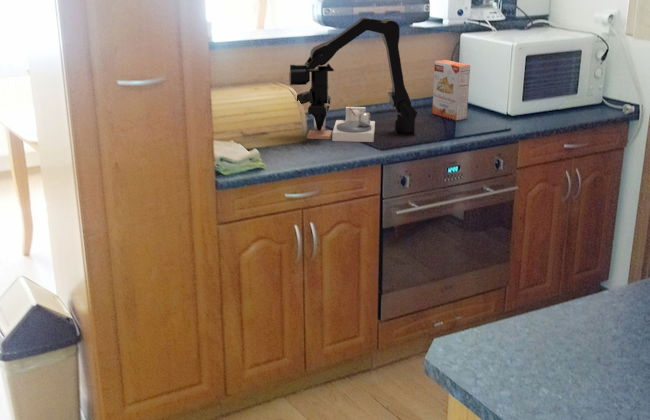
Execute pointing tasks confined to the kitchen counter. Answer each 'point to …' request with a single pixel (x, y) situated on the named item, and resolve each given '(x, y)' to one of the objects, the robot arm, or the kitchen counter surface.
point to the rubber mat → (319, 134)
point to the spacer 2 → (364, 119)
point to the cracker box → (451, 89)
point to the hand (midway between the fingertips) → (319, 128)
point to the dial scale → (353, 127)
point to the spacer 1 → (321, 128)
